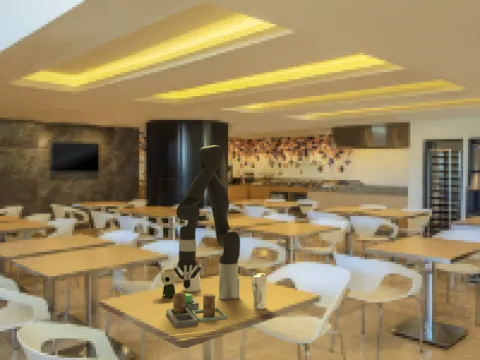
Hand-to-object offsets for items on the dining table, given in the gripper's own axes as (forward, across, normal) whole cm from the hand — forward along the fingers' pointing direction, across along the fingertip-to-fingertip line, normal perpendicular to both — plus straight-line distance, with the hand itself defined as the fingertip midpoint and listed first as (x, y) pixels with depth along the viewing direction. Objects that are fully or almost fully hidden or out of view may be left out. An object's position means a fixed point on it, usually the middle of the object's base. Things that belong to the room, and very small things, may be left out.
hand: (186, 287), depth 204 cm
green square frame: (+10, -7, +13) cm, 18 cm away
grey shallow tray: (+10, +5, +14) cm, 18 cm away
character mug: (+10, +3, -25) cm, 27 cm away
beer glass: (+10, -33, +7) cm, 35 cm away
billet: (+10, -7, +13) cm, 18 cm away
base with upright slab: (+10, -11, -34) cm, 37 cm away
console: (+10, -1, 0) cm, 10 cm away
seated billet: (+9, +5, +9) cm, 14 cm away
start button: (+8, 0, 0) cm, 8 cm away
